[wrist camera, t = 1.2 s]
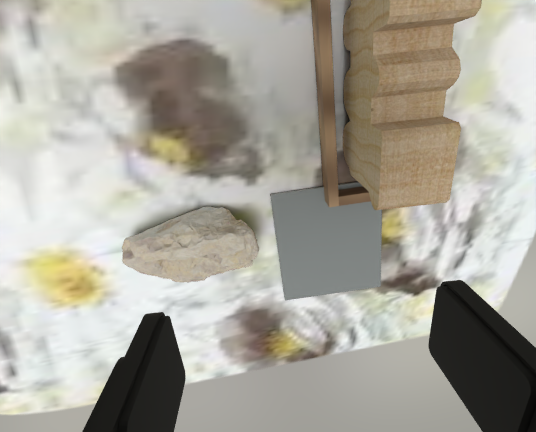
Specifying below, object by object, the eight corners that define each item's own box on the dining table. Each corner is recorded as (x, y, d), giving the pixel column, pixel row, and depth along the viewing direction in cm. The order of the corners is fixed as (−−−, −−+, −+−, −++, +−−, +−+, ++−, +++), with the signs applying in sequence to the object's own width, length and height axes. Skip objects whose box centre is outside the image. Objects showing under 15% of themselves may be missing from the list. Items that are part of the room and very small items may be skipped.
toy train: (407, -23, 26) (494, -80, 17) (394, 172, 33) (450, 206, 24) (343, -16, 26) (394, -70, 17) (342, 177, 33) (378, 214, 24)
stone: (232, 249, 39) (274, 283, 31) (131, 288, 34) (150, 341, 26) (221, 193, 37) (264, 214, 28) (109, 225, 31) (123, 263, 23)
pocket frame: (308, -39, 25) (314, -51, 23) (435, -58, 25) (453, -72, 23) (324, 199, 34) (329, 207, 31) (419, 185, 33) (431, 192, 31)
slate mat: (270, 194, 33) (270, 195, 33) (380, 177, 33) (382, 178, 33) (284, 298, 39) (284, 300, 38) (379, 284, 38) (380, 286, 38)
